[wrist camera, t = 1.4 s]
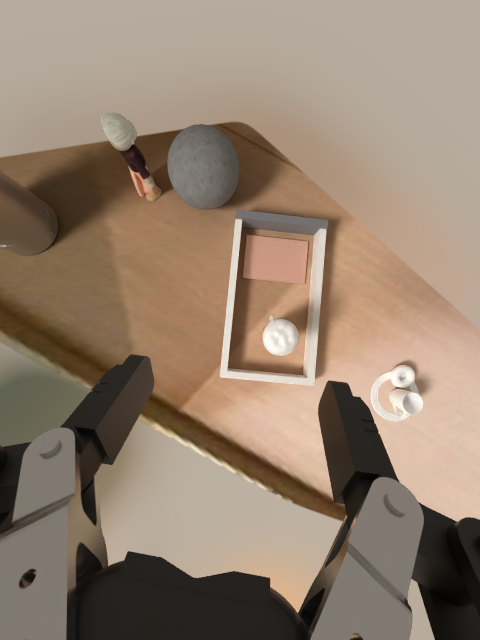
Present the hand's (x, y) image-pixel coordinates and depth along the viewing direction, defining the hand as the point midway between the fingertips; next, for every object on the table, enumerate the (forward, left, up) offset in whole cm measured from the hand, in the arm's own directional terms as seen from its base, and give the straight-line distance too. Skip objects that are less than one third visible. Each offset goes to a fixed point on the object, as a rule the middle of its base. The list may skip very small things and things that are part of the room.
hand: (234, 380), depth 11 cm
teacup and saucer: (+30, -5, -27) cm, 40 cm away
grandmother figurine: (-15, +23, -27) cm, 39 cm away
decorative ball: (-6, +24, -27) cm, 37 cm away
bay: (+6, +8, -26) cm, 28 cm away
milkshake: (+6, +2, -27) cm, 27 cm away
